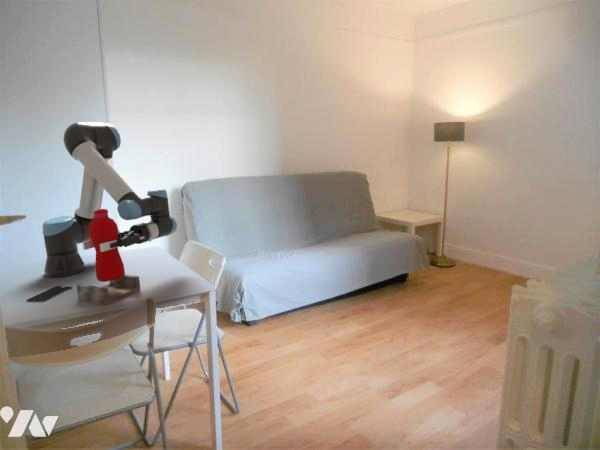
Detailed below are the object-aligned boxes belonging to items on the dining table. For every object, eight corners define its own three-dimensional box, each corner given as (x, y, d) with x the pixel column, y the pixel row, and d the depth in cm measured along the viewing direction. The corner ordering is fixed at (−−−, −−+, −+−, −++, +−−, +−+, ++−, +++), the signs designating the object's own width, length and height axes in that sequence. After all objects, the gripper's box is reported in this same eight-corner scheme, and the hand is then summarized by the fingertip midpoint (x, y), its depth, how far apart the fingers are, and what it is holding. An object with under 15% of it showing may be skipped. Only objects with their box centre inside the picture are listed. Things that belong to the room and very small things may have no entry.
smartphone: (73, 286, 157) (43, 301, 143) (74, 288, 157) (43, 303, 143) (56, 285, 159) (24, 300, 144) (56, 287, 159) (24, 302, 144)
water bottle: (91, 278, 148) (79, 210, 143) (123, 272, 153) (113, 206, 148) (92, 285, 140) (80, 213, 135) (126, 278, 145) (116, 209, 140)
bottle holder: (78, 299, 145) (76, 284, 144) (113, 285, 158) (112, 272, 157) (106, 305, 139) (104, 290, 138) (140, 290, 152) (138, 276, 151)
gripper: (164, 243, 156) (114, 260, 136) (125, 239, 165) (73, 254, 145) (162, 224, 155) (112, 238, 135) (123, 221, 164) (70, 234, 144)
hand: (92, 246), depth 140 cm, fingers closed on water bottle, 8 cm apart
